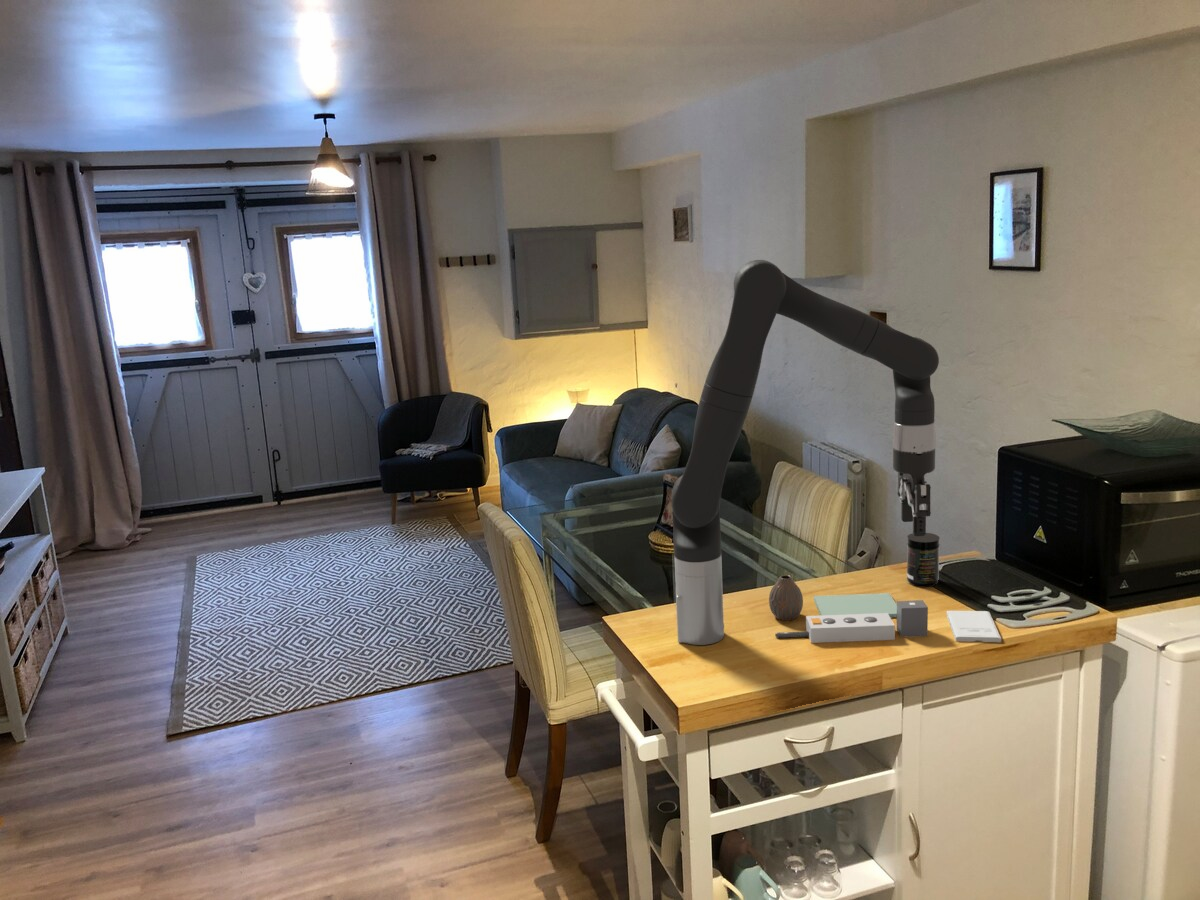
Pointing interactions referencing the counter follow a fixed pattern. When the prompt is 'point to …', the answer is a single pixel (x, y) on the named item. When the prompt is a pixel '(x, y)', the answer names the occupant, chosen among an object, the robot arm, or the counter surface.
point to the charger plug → (912, 618)
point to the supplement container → (923, 559)
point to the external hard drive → (973, 626)
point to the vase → (785, 599)
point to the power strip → (846, 628)
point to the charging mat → (856, 604)
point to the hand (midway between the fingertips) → (913, 528)
